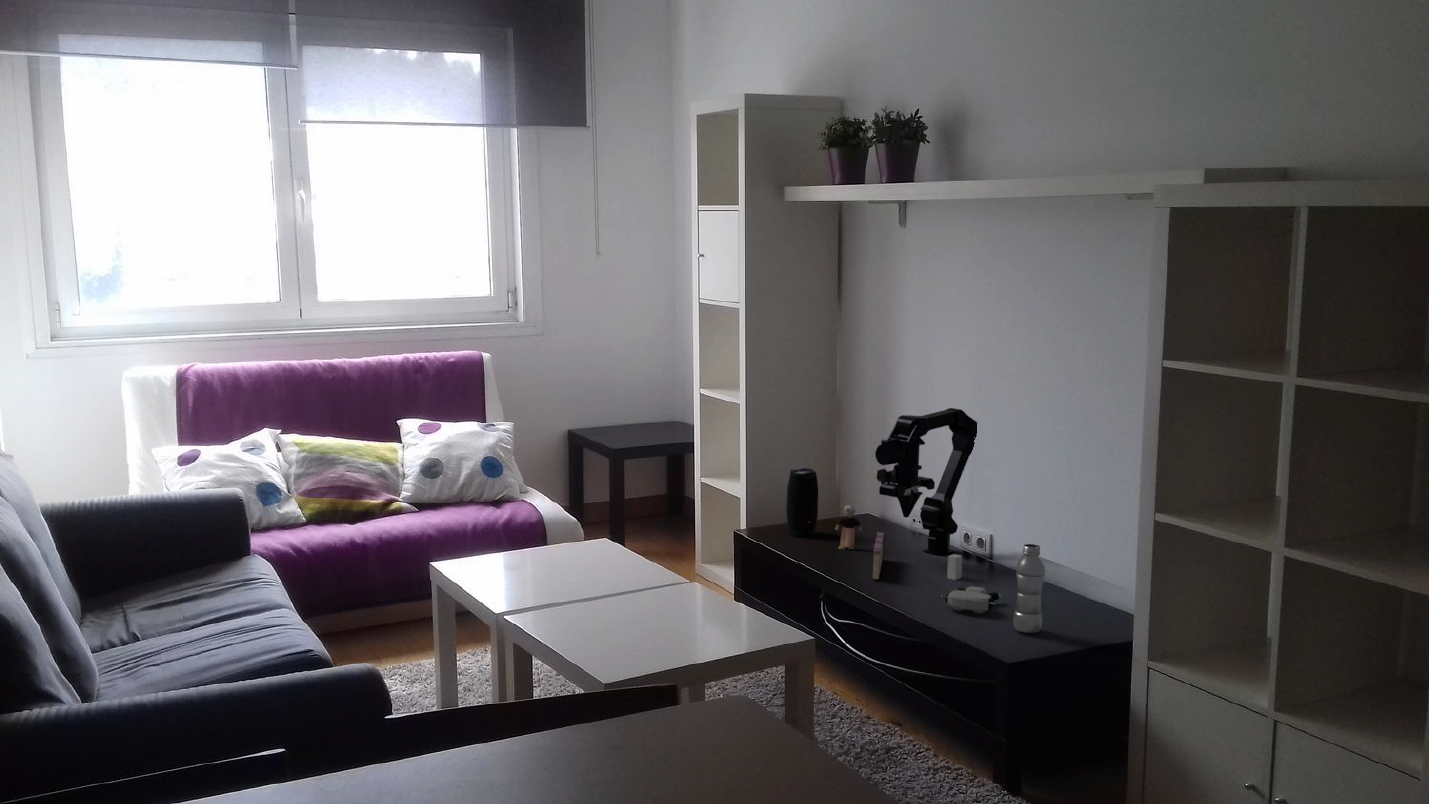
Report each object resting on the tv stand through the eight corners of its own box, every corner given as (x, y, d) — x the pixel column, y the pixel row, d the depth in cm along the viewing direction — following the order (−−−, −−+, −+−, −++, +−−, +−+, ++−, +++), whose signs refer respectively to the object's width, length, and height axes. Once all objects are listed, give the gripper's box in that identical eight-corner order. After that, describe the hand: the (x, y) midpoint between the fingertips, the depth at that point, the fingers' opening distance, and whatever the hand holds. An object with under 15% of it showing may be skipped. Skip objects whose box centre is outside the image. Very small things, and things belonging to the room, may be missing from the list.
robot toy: (954, 600, 301) (939, 611, 288) (955, 582, 301) (940, 593, 288) (1003, 607, 296) (990, 619, 283) (1005, 588, 296) (992, 600, 282)
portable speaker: (818, 538, 358) (820, 473, 356) (787, 537, 358) (788, 472, 355) (815, 531, 367) (816, 467, 364) (784, 530, 366) (786, 467, 364)
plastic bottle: (1038, 627, 278) (1042, 542, 275) (1044, 636, 271) (1049, 550, 268) (1009, 626, 278) (1014, 541, 275) (1015, 636, 271) (1020, 549, 268)
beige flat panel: (876, 557, 335) (877, 531, 334) (884, 557, 335) (885, 531, 334) (871, 578, 314) (872, 550, 313) (879, 579, 313) (880, 551, 312)
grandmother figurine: (835, 550, 344) (837, 506, 343) (834, 546, 348) (835, 503, 347) (862, 550, 345) (864, 506, 343) (860, 547, 349) (862, 504, 347)
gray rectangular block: (953, 576, 320) (954, 554, 319) (961, 577, 318) (962, 555, 317) (947, 578, 317) (948, 556, 317) (954, 580, 316) (956, 557, 315)
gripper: (903, 453, 344) (901, 507, 346) (864, 461, 331) (862, 517, 333) (936, 459, 337) (934, 514, 339) (897, 467, 323) (895, 524, 325)
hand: (906, 517), depth 334 cm, fingers closed
